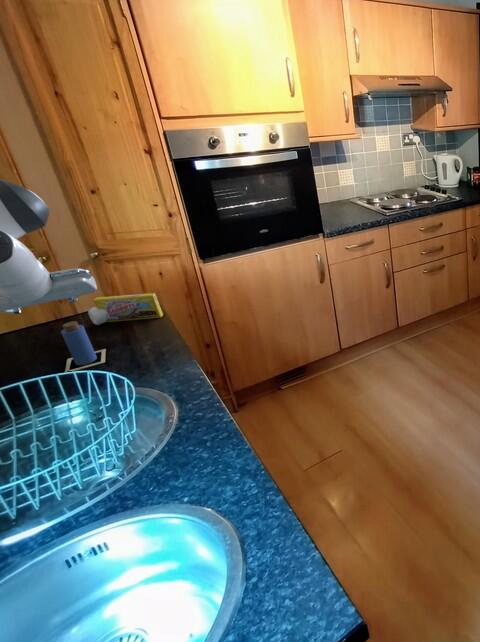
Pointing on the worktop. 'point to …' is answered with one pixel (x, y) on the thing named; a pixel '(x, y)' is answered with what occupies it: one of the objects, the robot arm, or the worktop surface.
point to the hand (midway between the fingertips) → (45, 305)
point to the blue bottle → (78, 343)
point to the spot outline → (87, 365)
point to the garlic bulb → (98, 315)
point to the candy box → (130, 307)
